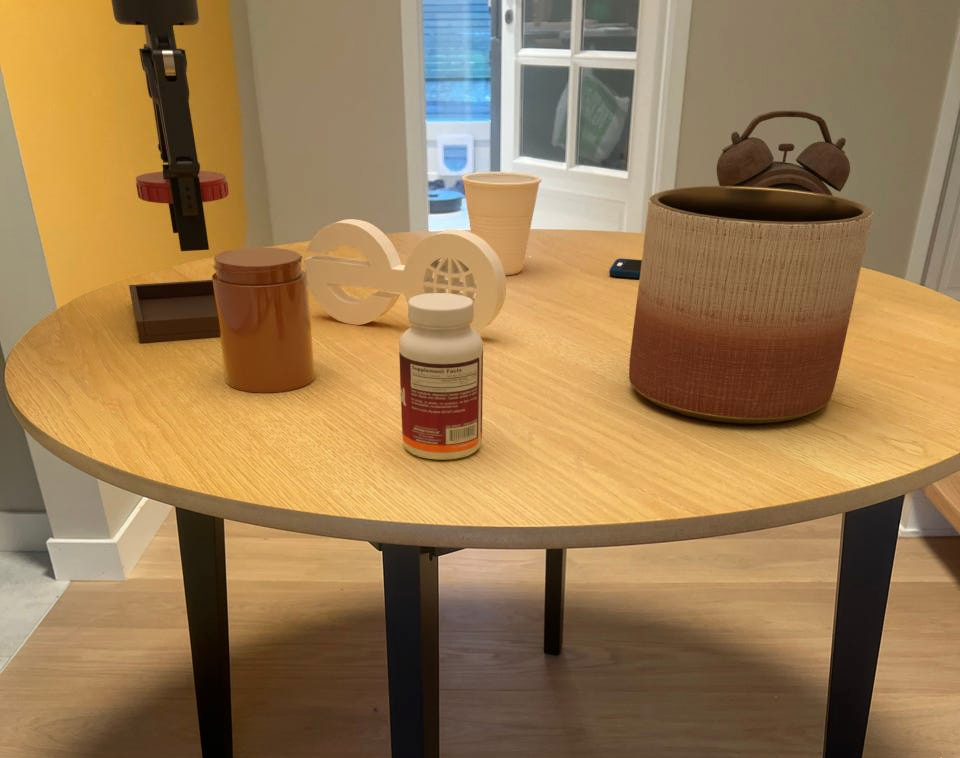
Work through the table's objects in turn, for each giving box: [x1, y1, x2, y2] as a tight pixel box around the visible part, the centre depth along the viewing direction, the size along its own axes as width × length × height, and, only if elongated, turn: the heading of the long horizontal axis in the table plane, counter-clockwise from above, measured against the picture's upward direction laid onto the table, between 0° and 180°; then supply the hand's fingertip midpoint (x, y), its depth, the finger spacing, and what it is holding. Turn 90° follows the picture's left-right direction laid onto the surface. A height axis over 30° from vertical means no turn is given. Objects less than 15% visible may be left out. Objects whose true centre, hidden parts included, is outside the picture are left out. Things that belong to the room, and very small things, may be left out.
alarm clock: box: [716, 110, 851, 196], centre depth 103 cm, size 15×7×20 cm, turn 92°
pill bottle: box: [398, 292, 484, 461], centre depth 70 cm, size 6×6×11 cm
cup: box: [461, 171, 543, 276], centre depth 119 cm, size 10×10×11 cm
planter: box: [628, 185, 874, 425], centre depth 80 cm, size 18×18×16 cm
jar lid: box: [135, 170, 230, 205], centre depth 95 cm, size 9×9×2 cm
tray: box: [128, 279, 220, 344], centre depth 101 cm, size 13×15×2 cm
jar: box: [211, 247, 316, 394], centre depth 83 cm, size 8×8×10 cm
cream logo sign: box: [304, 218, 507, 333], centre depth 97 cm, size 22×2×10 cm, turn 67°
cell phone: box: [608, 257, 642, 279], centre depth 121 cm, size 7×14×1 cm, turn 75°
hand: (190, 240), depth 97 cm, fingers closed on jar lid, 9 cm apart
